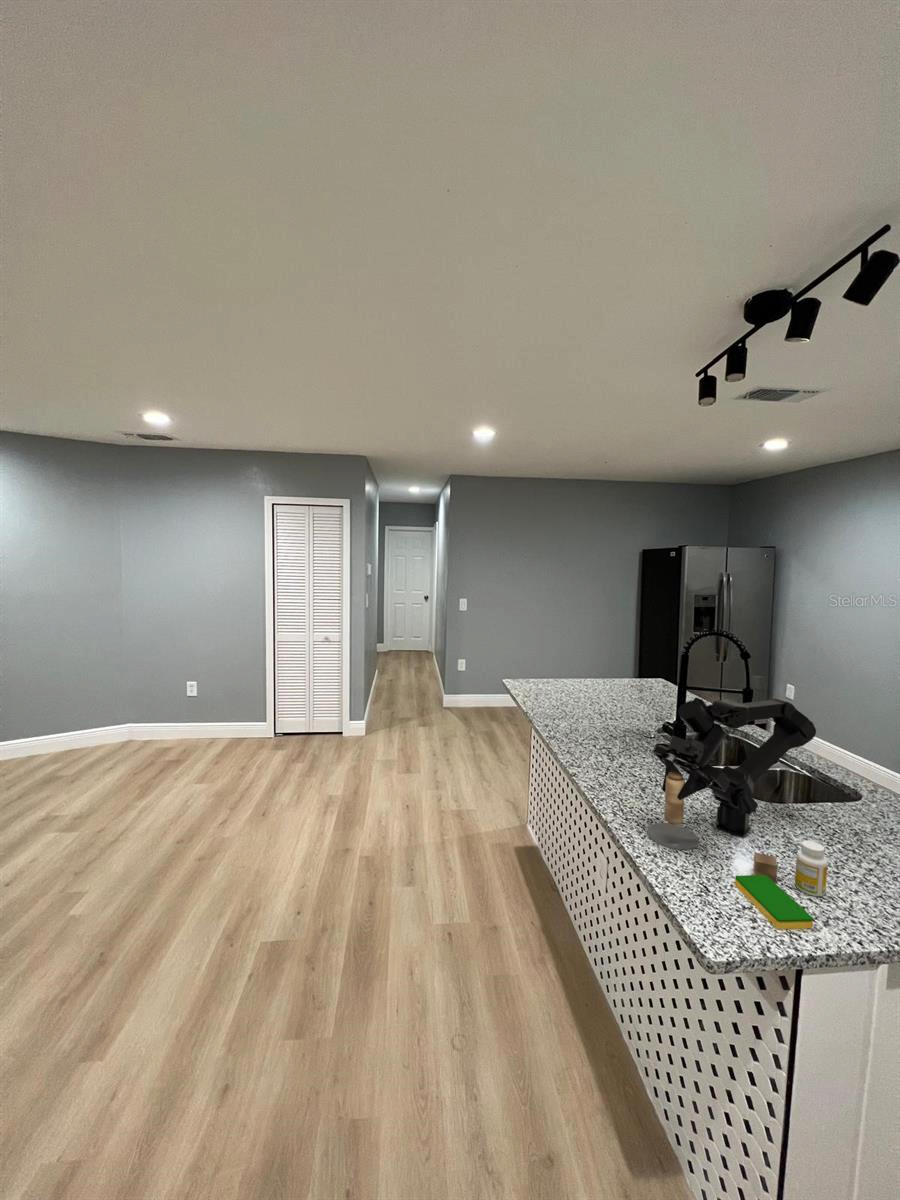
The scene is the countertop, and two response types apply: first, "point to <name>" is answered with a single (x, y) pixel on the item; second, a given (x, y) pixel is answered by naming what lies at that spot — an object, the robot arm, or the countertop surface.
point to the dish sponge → (773, 902)
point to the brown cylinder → (674, 798)
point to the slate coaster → (672, 836)
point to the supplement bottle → (811, 869)
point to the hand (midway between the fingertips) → (670, 794)
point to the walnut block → (765, 866)
